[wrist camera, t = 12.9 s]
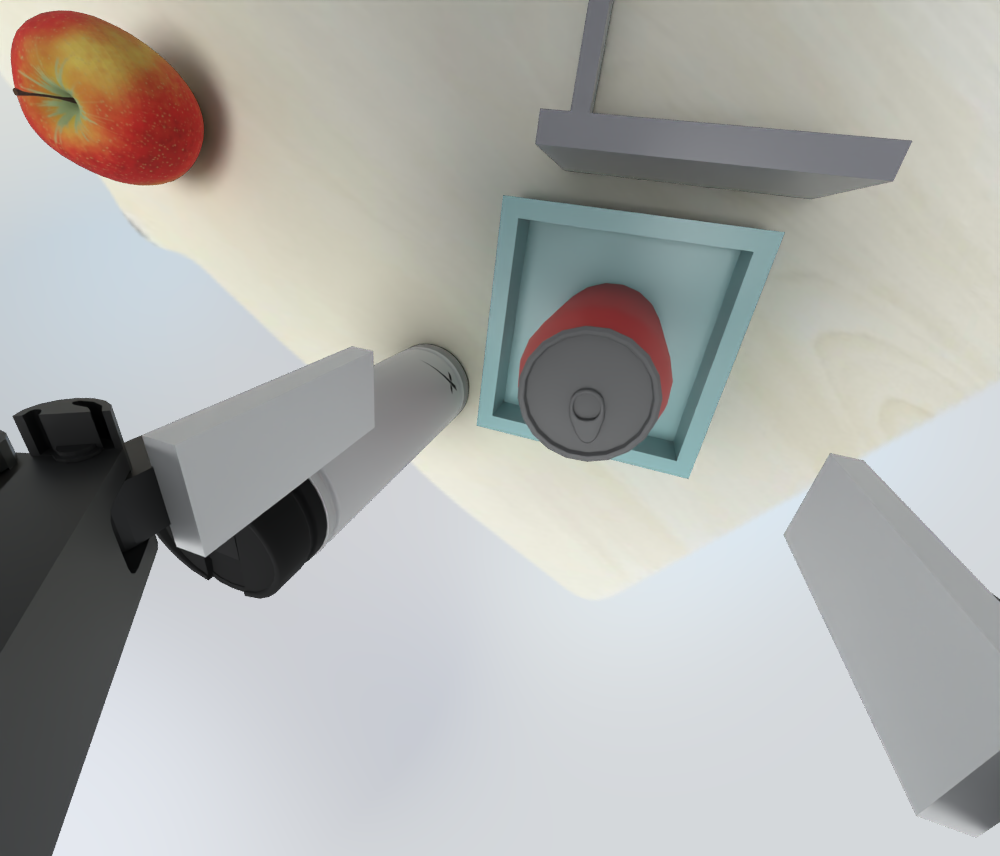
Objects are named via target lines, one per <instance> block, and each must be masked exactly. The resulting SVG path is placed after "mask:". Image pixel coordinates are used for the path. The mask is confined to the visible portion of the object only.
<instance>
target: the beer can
mask: <svg viewBox="0 0 1000 856" xmlns="http://www.w3.org/2000/svg"><path fill="white" fill-rule="evenodd" d="M672 383H673V378H672V369H671V359H670V355H669V351H668V348H667V344H666V340H665V337H664V333H663V330H662V326H661V323H660V319H659V317H658V315H657V313H656V311H655V309H654V307H653V305H652V304H651V303H650V302H649V301H648V300H647V299H646V298H645V297H644V296H643V295H642V294H641V293H640V292H638V291H636V290H634V289H632V288H629V287H627V286H625V285H621V284H610V283H604V284H599V285H595V286H591V287H587V288H586V289H584V290H582V291H581V292H579V293H577V294H576V295H574V296H573V297H571V298H570V299H569V300H568V301H567V302H566V303H565V304H564V305H563V306H562V307H560V308H559V309H558V310H557V311H556V312H555V313H554V314H553V315H552V316H551V317H549V318H548V319H547V320H546V321H545V322H544V323H543V324H542V325H541V327H540V328H539V329H538V330H537V331H536V332H535V333H534V334H533V336H532V337H531V338H530V339H529V341H528V343H527V346H526V348H525V350H524V353H523V355H522V357H521V360H520V367H519V379H518V397H517V398H518V402H519V406H520V410H521V414H522V418H523V419H524V421H525V423H526V424H527V426H528V428H529V429H530V431H531V433H532V434H533V435H534V436H535V437H536V438H537V439H538V440H539V441H540V442H541V443H542V444H543V445H545V446H546V447H547V448H548V449H550V450H552V451H554V452H556V453H558V454H560V455H562V456H564V457H566V458H571V459H576V460H581V461H587V462H588V461H600V460H609V459H612V458H614V457H617V456H620V455H622V454H625V453H627V452H629V451H630V450H632V449H633V448H634V447H636V446H637V445H638V444H639V443H641V442H642V441H643V440H644V439H646V437H647V436H648V434H649V432H650V431H651V429H652V428H653V427H654V425H655V423H656V422H657V420H658V419H659V417H660V416H661V414H662V413H663V411H664V410H665V408H666V406H667V403H668V399H669V395H670V391H671V387H672Z"/></svg>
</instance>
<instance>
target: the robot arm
mask: <svg viewBox="0 0 1000 856" xmlns="http://www.w3.org/2000/svg"><path fill="white" fill-rule="evenodd" d="M13 418H14V420H15V423H16V425H17V427H18V429H19V431H20V433H21V435H22V438H23V440H24V442H25V444H26V446H27V448H28V451H29V453H15V451H14V449H13V447H12V445H11V443H10V440H9V438H8V436H7V434H6V433H5V432H3V431H1V430H0V856H52V854H53V851H54V848H55V845H56V842H57V839H58V836H59V833H60V831H61V827H62V825H63V822H64V819H65V816H66V813H67V810H68V807H69V804H70V802H71V798H72V796H73V793H74V790H75V787H76V784H77V781H78V778H79V775H80V773H81V770H82V766H83V764H84V761H85V758H86V755H87V752H88V749H89V747H90V744H91V741H92V738H93V735H94V732H95V729H96V726H97V723H98V720H99V718H100V715H101V711H102V709H103V706H104V703H105V700H106V697H107V694H108V691H109V688H110V686H111V683H112V680H113V677H114V674H115V671H116V668H117V666H118V663H119V660H120V657H121V654H122V651H123V648H124V645H125V642H126V639H127V637H128V634H129V631H130V628H131V625H132V622H133V619H134V616H135V614H136V611H137V608H138V605H139V602H140V599H141V596H142V593H143V590H144V587H145V585H146V582H147V579H148V576H149V573H150V570H151V567H152V564H153V561H154V559H155V555H156V553H157V550H158V542H157V539H156V536H155V534H156V533H158V532H160V531H161V530H163V529H164V528H166V527H167V526H169V525H170V527H171V531H172V534H173V537H174V540H175V543H176V547H179V548H181V549H184V550H187V551H190V552H192V553H195V554H198V555H201V556H203V557H206V556H208V555H209V554H210V553H212V552H213V551H214V550H216V549H217V548H218V547H219V546H221V545H222V544H223V543H225V542H226V541H227V540H229V539H230V538H231V537H232V536H234V535H235V534H236V533H238V532H239V531H240V530H242V529H243V528H244V527H246V526H247V525H248V524H249V523H251V522H252V521H253V520H255V519H256V518H257V517H259V516H260V515H261V514H262V513H264V512H265V511H266V510H268V509H269V508H270V507H272V506H273V505H274V504H275V503H277V502H278V501H279V500H281V499H282V498H283V497H285V496H286V495H287V494H288V493H290V492H291V491H292V490H294V489H295V488H296V487H298V486H299V485H300V484H301V483H303V482H304V481H305V480H307V479H308V478H309V477H311V476H312V475H313V474H315V473H316V472H317V471H318V470H320V469H321V468H322V467H324V466H325V465H326V464H328V463H329V462H330V461H331V460H333V459H334V458H335V457H337V456H338V455H339V454H341V453H342V452H343V451H344V450H346V449H347V448H348V447H350V446H351V445H352V444H354V443H355V442H356V441H357V440H359V439H360V438H361V437H363V436H364V435H365V434H367V433H368V432H369V431H371V430H372V429H373V428H374V427H375V420H374V366H373V351H371V350H366V349H362V348H357V347H353V346H352V347H349V348H347V349H344V350H342V351H340V352H337V353H335V354H333V355H330V356H328V357H326V358H323V359H321V360H318V361H316V362H314V363H311V364H309V365H307V366H304V367H302V368H300V369H298V370H295V371H292V372H290V373H288V374H286V375H283V376H281V377H278V378H276V379H274V380H271V381H269V382H267V383H264V384H262V385H259V386H257V387H255V388H252V389H250V390H248V391H245V392H243V393H240V394H238V395H236V396H234V397H231V398H229V399H226V400H224V401H222V402H219V403H217V404H214V405H212V406H210V407H207V408H205V409H203V410H200V411H198V412H196V413H193V414H191V415H189V416H186V417H184V418H181V419H179V420H177V421H175V422H172V423H170V424H167V425H165V426H163V427H160V428H158V429H155V430H153V431H151V432H149V433H146V434H144V435H141V436H139V437H137V438H134V439H132V440H130V441H127V442H125V443H124V441H123V438H122V435H121V432H120V429H119V426H118V424H117V421H116V417H115V414H114V412H113V409H112V406H111V404H109V403H108V402H106V401H104V400H99V399H94V398H74V399H64V400H56V401H52V402H47V403H42V404H38V405H35V406H33V407H30V408H27V409H24V410H22V411H20V412H19V413H17V414H15V415H14V416H13ZM784 537H785V539H786V541H787V543H788V545H789V547H790V549H791V552H792V554H793V556H794V558H795V560H796V562H797V564H798V566H799V569H800V571H801V573H802V575H803V577H804V579H805V581H806V583H807V585H808V588H809V590H810V592H811V594H812V596H813V598H814V600H815V603H816V605H817V607H818V609H819V611H820V613H821V615H822V617H823V619H824V622H825V624H826V626H827V628H828V630H829V632H830V634H831V636H832V639H833V641H834V643H835V645H836V647H837V649H838V651H839V653H840V655H841V658H842V660H843V662H844V664H845V666H846V668H847V670H848V672H849V674H850V676H851V679H852V681H853V683H854V685H855V687H856V689H857V691H858V693H859V696H860V698H861V700H862V702H863V704H864V706H865V708H866V710H867V713H868V715H869V717H870V719H871V721H872V723H873V725H874V727H875V730H876V732H877V734H878V736H879V738H880V740H881V742H882V744H883V746H884V748H885V751H886V753H887V755H888V757H889V759H890V761H891V763H892V766H893V768H894V770H895V772H896V774H897V776H898V778H899V780H900V782H901V784H902V786H903V789H904V791H905V793H906V795H907V797H908V799H909V802H910V804H911V806H912V808H913V810H914V812H915V814H916V816H918V817H921V818H924V819H927V820H929V821H932V822H935V823H937V824H940V825H943V826H945V827H948V828H951V829H954V830H956V831H959V832H962V833H965V834H967V835H970V836H973V837H978V836H979V835H981V834H983V833H984V832H985V831H987V830H989V829H990V828H992V827H993V826H995V825H996V824H998V823H999V822H1000V599H999V598H997V597H996V596H995V595H993V594H992V593H991V592H990V591H989V590H988V589H987V588H986V587H985V586H984V585H983V584H982V583H981V582H980V581H979V580H978V579H977V578H976V577H975V576H974V575H973V574H972V573H971V572H970V571H969V570H968V569H967V567H966V566H965V565H964V564H963V563H962V562H961V561H960V560H959V559H958V558H957V557H956V556H955V555H954V554H953V553H952V552H951V551H950V550H949V549H948V548H947V547H946V546H945V545H944V544H943V542H942V541H941V540H939V538H938V537H937V536H936V535H935V534H934V533H933V532H932V531H931V530H930V529H929V528H928V527H927V526H926V525H925V524H924V523H923V522H922V521H921V520H920V519H919V518H918V517H917V515H916V514H915V513H914V512H913V511H911V509H910V508H909V507H908V506H907V505H906V504H905V503H904V502H903V501H902V500H901V499H900V498H899V497H898V496H897V495H896V494H895V493H894V492H893V491H892V490H891V488H889V486H888V485H887V484H886V483H885V482H884V481H883V480H882V479H881V478H880V477H879V476H878V475H877V474H876V473H875V472H874V471H873V470H872V469H871V468H870V467H869V466H868V465H867V464H866V462H865V461H863V460H859V459H854V458H850V457H845V456H841V455H836V454H832V453H830V454H829V456H828V458H827V460H826V461H825V463H824V465H823V467H822V468H821V470H820V472H819V474H818V475H817V477H816V479H815V481H814V482H813V484H812V486H811V488H810V489H809V491H808V493H807V495H806V496H805V498H804V500H803V502H802V504H801V505H800V507H799V509H798V511H797V512H796V514H795V516H794V518H793V519H792V521H791V523H790V525H789V526H788V528H787V530H786V532H785V533H784Z"/></svg>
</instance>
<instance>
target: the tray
mask: <svg viewBox="0 0 1000 856" xmlns="http://www.w3.org/2000/svg"><path fill="white" fill-rule="evenodd" d="M784 233H785V232H778V231H771V230H763V229H756V228H748V227H740V226H733V225H725V224H718V223H710V222H702V221H695V220H687V219H680V218H672V217H665V216H657V215H649V214H642V213H634V212H627V211H619V210H612V209H604V208H596V207H589V206H581V205H574V204H566V203H559V202H551V201H543V200H536V199H528V198H521V197H513V196H506V195H503V201H502V210H501V219H500V227H499V236H498V245H497V253H496V262H495V271H494V279H493V288H492V297H491V306H490V314H489V323H488V332H487V340H486V349H485V358H484V366H483V375H482V384H481V392H480V401H479V410H478V418H477V426H481V427H484V428H488V429H492V430H496V431H500V432H504V433H508V434H512V435H516V436H520V437H524V438H528V439H532V440H536V441H539V440H538V439H537V438H536V437H535V436H534V435H533V434H532V433H531V431H530V429H529V428H528V426H527V424H526V423H525V421H524V419H523V418H522V414H521V410H520V406H519V402H518V398H517V397H518V379H519V367H520V360H521V357H522V355H523V353H524V350H525V348H526V346H527V343H528V341H529V339H530V338H531V337H532V336H533V334H534V333H535V332H536V331H537V330H538V329H539V328H540V327H541V325H542V324H543V323H544V322H545V321H546V320H547V319H548V318H549V317H551V316H552V315H553V314H554V313H555V312H556V311H557V310H558V309H559V308H560V307H562V306H563V305H564V304H565V303H566V302H567V301H568V300H569V299H570V298H571V297H573V296H574V295H576V294H577V293H579V292H581V291H582V290H584V289H586V288H587V287H591V286H595V285H599V284H604V283H610V284H621V285H625V286H627V287H629V288H632V289H634V290H636V291H638V292H640V293H641V294H642V295H643V296H644V297H645V298H646V299H647V300H648V301H649V302H650V303H651V304H652V305H653V307H654V309H655V311H656V313H657V315H658V317H659V319H660V323H661V326H662V330H663V333H664V337H665V340H666V344H667V348H668V351H669V355H670V359H671V369H672V378H673V383H672V387H671V391H670V395H669V399H668V403H667V406H666V408H665V410H664V411H663V413H662V414H661V416H660V417H659V419H658V420H657V422H656V423H655V425H654V427H653V428H652V429H651V431H650V432H649V434H648V436H647V437H646V439H644V440H643V441H642V442H641V443H639V444H638V445H637V446H636V447H634V448H633V449H632V450H630V451H629V452H627V453H625V454H622V455H620V456H617V457H614V458H612V459H611V460H615V461H619V462H623V463H627V464H631V465H635V466H639V467H643V468H647V469H651V470H655V471H659V472H663V473H667V474H671V475H675V476H679V477H683V478H687V479H688V478H689V476H690V473H691V471H692V468H693V466H694V463H695V461H696V458H697V455H698V453H699V450H700V448H701V445H702V443H703V440H704V438H705V435H706V432H707V430H708V427H709V425H710V422H711V420H712V417H713V415H714V412H715V409H716V407H717V404H718V402H719V399H720V397H721V394H722V392H723V389H724V386H725V384H726V381H727V379H728V376H729V374H730V371H731V369H732V366H733V363H734V361H735V358H736V356H737V353H738V351H739V348H740V346H741V343H742V340H743V338H744V335H745V333H746V330H747V328H748V325H749V323H750V320H751V317H752V315H753V312H754V310H755V307H756V305H757V302H758V300H759V297H760V294H761V292H762V289H763V287H764V284H765V282H766V279H767V277H768V274H769V272H770V269H771V266H772V264H773V261H774V259H775V256H776V254H777V251H778V249H779V246H780V243H781V241H782V238H783V236H784Z"/></svg>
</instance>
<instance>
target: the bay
mask: <svg viewBox="0 0 1000 856" xmlns="http://www.w3.org/2000/svg"><path fill="white" fill-rule="evenodd" d="M612 5H613V0H589V3H588V9H587V15H586V21H585V27H584V33H583V39H582V45H581V51H580V58H579V64H578V70H577V76H576V82H575V88H574V94H573V100H572V106H571V111H563V110H552V109H540V114H539V121H538V129H537V136H536V143H535V144H536V145H537V146H538V147H539V148H540V149H541V150H543V151H544V152H545V153H546V154H547V155H548V156H549V157H550V158H551V159H552V160H554V161H555V162H556V163H557V164H558V165H559V166H560V167H561V168H562V169H564V170H565V171H573V172H582V173H591V174H599V175H608V176H617V177H625V178H634V179H643V180H651V181H660V182H668V183H677V184H686V185H694V186H703V187H712V188H720V189H729V190H737V191H746V192H755V193H763V194H772V195H781V196H789V197H798V198H806V199H814V198H818V197H823V196H828V195H832V194H837V193H842V192H846V191H851V190H855V189H860V188H865V187H869V186H874V185H879V184H883V183H888V182H892V181H893V180H894V178H895V176H896V174H897V172H898V170H899V168H900V166H901V164H902V161H903V159H904V157H905V155H906V153H907V151H908V149H909V147H910V145H911V142H912V141H910V140H898V139H887V138H875V137H864V136H852V135H841V134H829V133H817V132H806V131H794V130H783V129H771V128H760V127H748V126H737V125H725V124H714V123H702V122H690V121H679V120H667V119H656V118H644V117H633V116H621V115H610V114H598V113H593V108H594V103H595V97H596V92H597V87H598V81H599V76H600V70H601V65H602V60H603V54H604V49H605V43H606V38H607V32H608V27H609V22H610V16H611V11H612Z"/></svg>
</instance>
